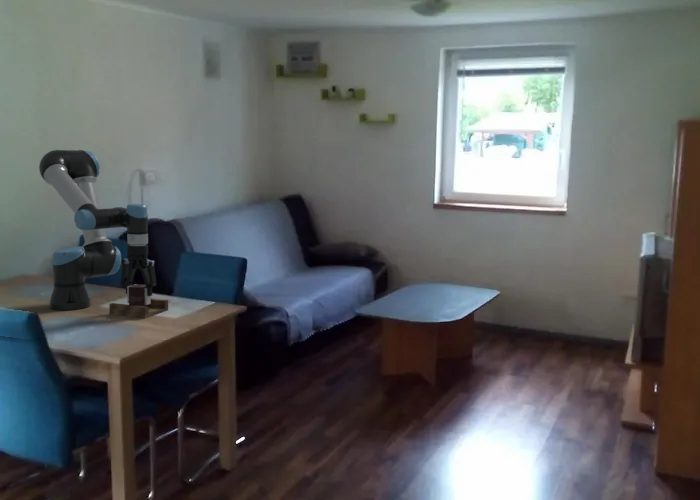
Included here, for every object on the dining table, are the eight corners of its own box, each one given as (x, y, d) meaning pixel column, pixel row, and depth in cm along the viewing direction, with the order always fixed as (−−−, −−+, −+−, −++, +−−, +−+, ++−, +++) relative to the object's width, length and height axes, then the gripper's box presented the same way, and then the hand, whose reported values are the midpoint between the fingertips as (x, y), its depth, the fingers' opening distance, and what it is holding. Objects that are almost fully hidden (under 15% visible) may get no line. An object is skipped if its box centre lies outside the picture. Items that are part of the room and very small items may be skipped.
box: (144, 306, 262) (143, 287, 261) (128, 305, 262) (128, 286, 262) (149, 302, 268) (148, 284, 267) (133, 302, 269) (133, 284, 268)
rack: (109, 314, 262) (109, 304, 261) (133, 306, 276) (133, 296, 275) (145, 318, 256) (145, 307, 256) (168, 310, 271) (168, 300, 270)
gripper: (109, 244, 262) (111, 302, 265) (154, 247, 256) (155, 307, 259) (121, 241, 269) (123, 299, 272) (166, 245, 263) (167, 303, 266)
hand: (139, 303), depth 266 cm, fingers closed on box, 7 cm apart
